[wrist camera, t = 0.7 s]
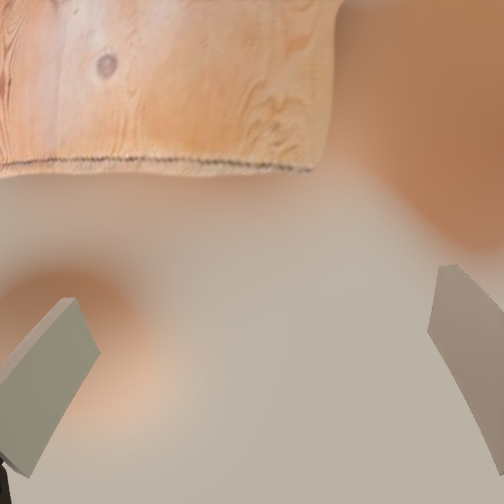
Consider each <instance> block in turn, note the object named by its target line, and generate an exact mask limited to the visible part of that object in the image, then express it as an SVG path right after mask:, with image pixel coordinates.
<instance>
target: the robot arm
mask: <svg viewBox="0 0 504 504" xmlns="http://www.w3.org/2000/svg"><path fill="white" fill-rule="evenodd" d="M428 334H429V335H430V337H431V339H432V340H433V342H434V344H435V345H436V347H437V349H438V351H439V352H440V354H441V356H442V357H443V359H444V361H445V363H446V365H447V366H448V368H449V370H450V372H451V374H452V375H453V377H454V379H455V381H456V383H457V384H458V387H459V388H460V390H461V392H462V394H463V396H464V398H465V400H466V402H467V404H468V405H469V408H470V410H471V412H472V414H473V416H474V418H475V420H476V422H477V424H478V426H479V428H480V431H481V433H482V435H483V437H484V439H485V441H486V444H487V446H488V448H489V450H490V453H491V455H492V457H493V460H494V462H495V464H496V467H497V470H498V472H499V475H500V476H501V475H503V474H504V312H503V311H502V310H501V309H500V307H499V306H498V305H497V304H496V303H495V302H494V301H493V300H492V299H491V298H490V297H489V296H488V295H487V294H486V293H485V292H484V291H483V290H482V289H481V288H480V287H479V286H478V285H477V284H476V283H475V282H474V281H473V280H472V279H471V278H470V277H469V276H468V275H467V274H466V273H465V272H464V271H463V270H462V269H461V268H460V267H459V266H458V265H457V264H455V265H448V266H441V267H439V269H438V276H437V283H436V289H435V296H434V301H433V306H432V312H431V318H430V322H429V327H428ZM99 355H100V351H99V349H98V347H97V345H96V343H95V341H94V338H93V336H92V334H91V332H90V330H89V327H88V325H87V323H86V320H85V318H84V316H83V314H82V311H81V309H80V306H79V304H78V301H77V299H76V298H62V299H61V300H60V301H59V302H58V303H57V304H56V305H55V306H54V307H53V308H52V309H51V310H50V311H49V312H48V313H47V314H46V315H45V316H44V317H43V319H42V320H41V321H40V322H39V323H38V324H37V325H36V326H35V327H34V328H33V329H32V330H31V332H30V333H29V334H28V335H27V336H26V337H25V338H24V339H23V340H22V341H21V343H20V344H19V345H18V346H17V347H16V348H15V349H14V351H13V352H12V353H11V354H10V355H9V356H8V358H7V359H6V360H5V361H4V362H3V364H2V365H1V366H0V504H12V503H11V497H10V492H9V485H8V478H7V472H6V470H5V468H4V467H3V466H2V463H3V461H4V462H6V463H7V464H8V465H9V466H10V467H11V468H12V469H13V470H14V471H15V472H17V473H19V474H21V475H23V476H25V477H27V478H30V476H31V474H32V472H33V470H34V468H35V466H36V464H37V462H38V460H39V458H40V457H41V455H42V453H43V451H44V449H45V447H46V445H47V443H48V442H49V440H50V438H51V436H52V434H53V432H54V431H55V429H56V427H57V425H58V423H59V422H60V420H61V418H62V416H63V415H64V413H65V411H66V409H67V408H68V406H69V404H70V403H71V401H72V399H73V398H74V396H75V394H76V392H77V391H78V389H79V387H80V386H81V384H82V382H83V381H84V379H85V378H86V376H87V374H88V373H89V371H90V369H91V368H92V366H93V365H94V363H95V361H96V360H97V358H98V357H99Z"/></svg>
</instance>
